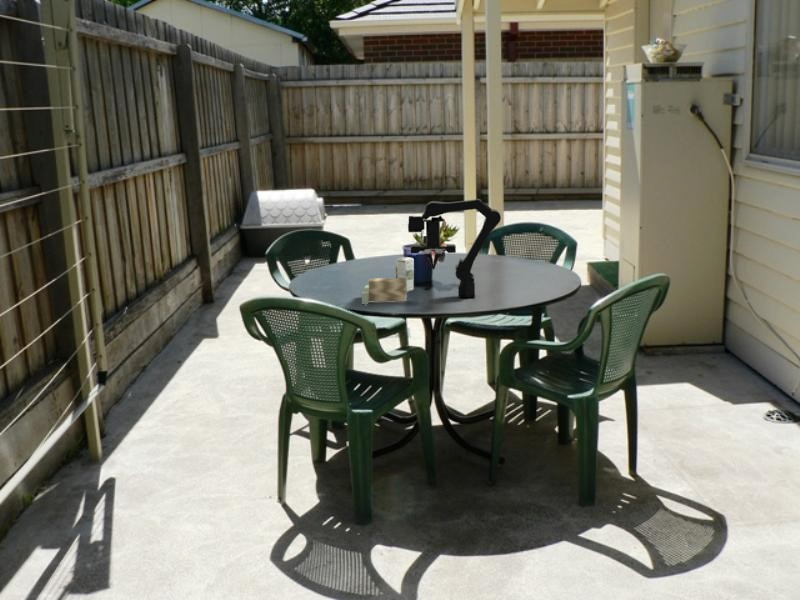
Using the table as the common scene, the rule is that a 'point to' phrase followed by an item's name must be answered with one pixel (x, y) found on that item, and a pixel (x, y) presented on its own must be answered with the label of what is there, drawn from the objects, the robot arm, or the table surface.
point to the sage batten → (365, 295)
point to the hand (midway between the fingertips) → (433, 269)
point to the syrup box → (406, 271)
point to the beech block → (387, 289)
